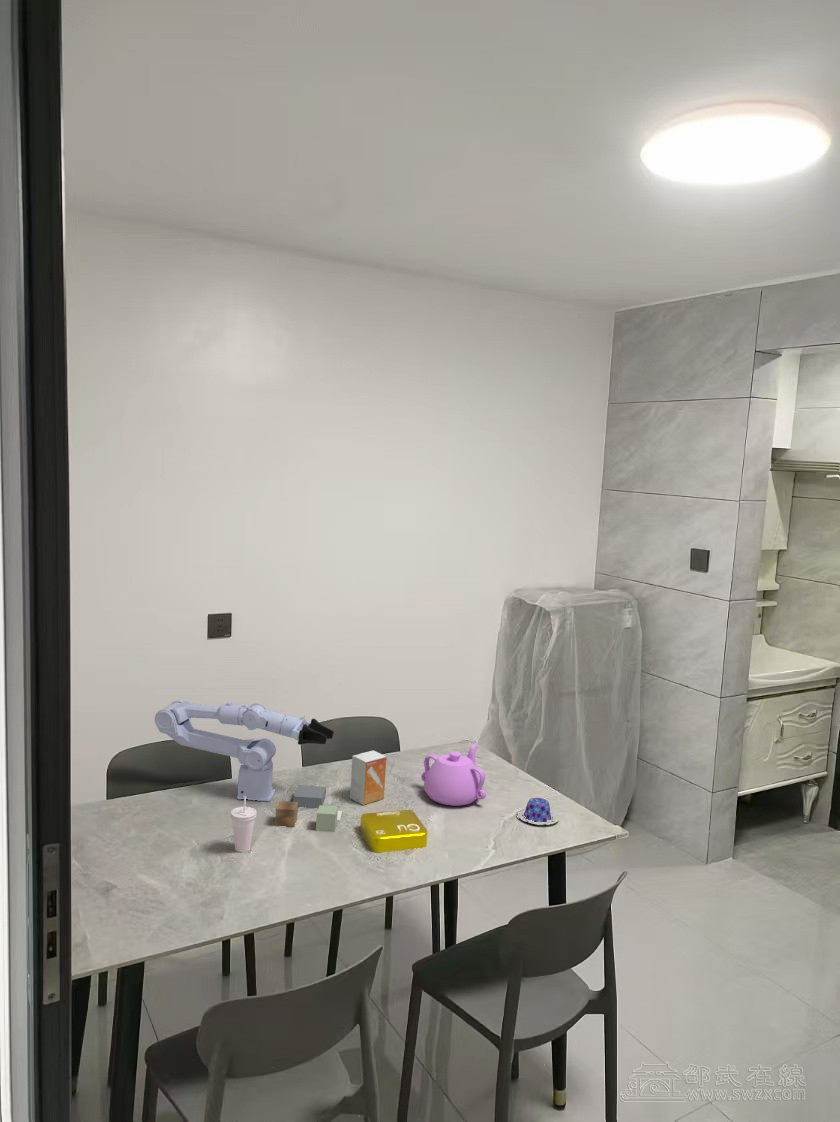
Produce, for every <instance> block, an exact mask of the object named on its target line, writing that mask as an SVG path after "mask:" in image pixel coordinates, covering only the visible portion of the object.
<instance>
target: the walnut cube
mask: <svg viewBox="0 0 840 1122" xmlns="http://www.w3.org/2000/svg"><path fill="white" fill-rule="evenodd" d="M298 809H299V807H298V802H293V801H284V800H279V801H278V803H277V806H276V808H275V821H274V822H275V823H274V824H275V827H279V826H286V827H285V828H293V827H294V828H295V827H296V824H297V820H298V816H299V815H298V811H299V810H298ZM295 823H296V824H295Z"/></svg>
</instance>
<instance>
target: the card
mask: <svg viewBox="0 0 840 1122" xmlns="http://www.w3.org/2000/svg"><path fill="white" fill-rule="evenodd" d="M342 815H343V810H338V816H337V822H340V821H341V818H342Z"/></svg>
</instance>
